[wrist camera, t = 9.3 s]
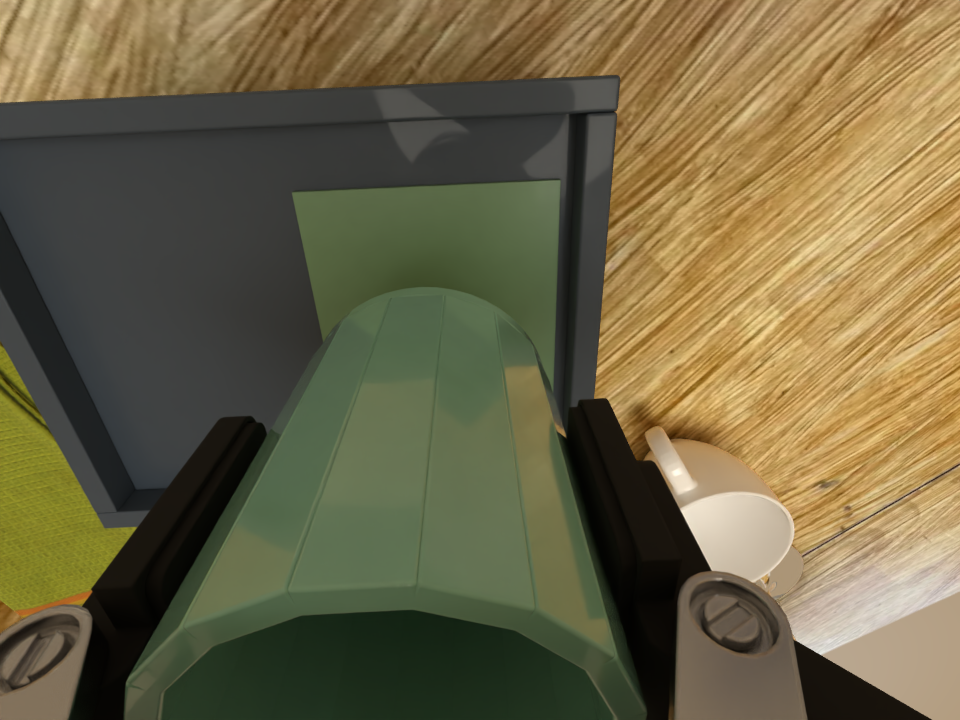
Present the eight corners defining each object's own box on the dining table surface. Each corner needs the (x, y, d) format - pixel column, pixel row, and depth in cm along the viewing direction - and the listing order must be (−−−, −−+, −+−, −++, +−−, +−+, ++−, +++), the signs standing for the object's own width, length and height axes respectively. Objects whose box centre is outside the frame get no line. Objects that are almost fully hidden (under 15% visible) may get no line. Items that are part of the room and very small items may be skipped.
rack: (139, 101, 22) (-131, 108, 12) (550, 82, 22) (621, 74, 12) (229, 377, 28) (103, 529, 19) (544, 362, 28) (586, 505, 19)
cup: (642, 523, 35) (679, 613, 29) (576, 427, 31) (603, 507, 25) (750, 476, 33) (812, 560, 27) (695, 366, 29) (754, 437, 23)
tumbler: (290, 291, 12) (18, 604, 4) (548, 279, 12) (681, 570, 5) (336, 488, 14) (212, 868, 7) (543, 477, 14) (619, 845, 7)
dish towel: (140, 691, 43) (117, 734, 40) (-293, 340, 26) (-384, 370, 24) (300, 650, 41) (288, 692, 38) (-63, 242, 24) (-133, 262, 22)
